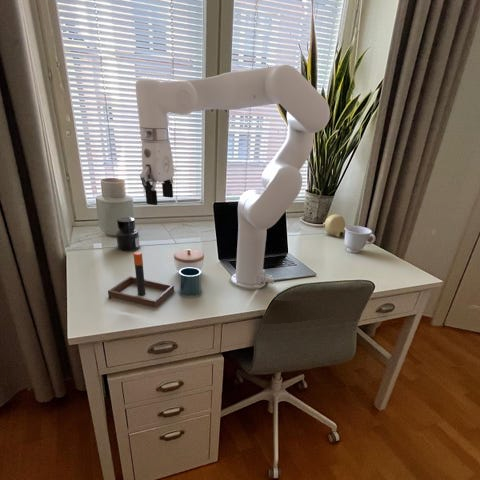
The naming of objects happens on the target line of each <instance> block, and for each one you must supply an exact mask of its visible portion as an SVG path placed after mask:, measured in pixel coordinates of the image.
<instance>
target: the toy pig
mask: <svg viewBox="0 0 480 480" xmlns="http://www.w3.org/2000/svg"><path fill="white" fill-rule="evenodd" d="M322 225H323V227H324V230H325V235H329V236H334V237H336V238H342V237H343V236H345V229H344V228H345V227H346V221H345V218H344V217H343V216H342V215H341V214H338V213H334V214H331V215H329V216H328V217H326V219H325V221H324V222H323V224H322Z"/></svg>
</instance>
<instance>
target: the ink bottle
mask: <svg viewBox="0 0 480 480" xmlns="http://www.w3.org/2000/svg"><path fill="white" fill-rule="evenodd" d="M116 222H117V223H116V224H117V229H118V230H117V231H116V233H115V235H116V243H117V248H118V249H119V250H120V251H123V252H131V251H136V250H139V249H140V248H141V246H140V234H139V231H138V230H137V229H136V221H135V218H134V217H131V216H122V217H118V218H116Z"/></svg>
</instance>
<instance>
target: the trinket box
mask: <svg viewBox="0 0 480 480" xmlns="http://www.w3.org/2000/svg"><path fill="white" fill-rule="evenodd" d="M204 258H205V254H204V252H203V251H201V250H199V249H194V248H183V249H179V250H175V252H174V253H173V259H174V267H175V269H176V271H177V272H178V273H179V270H181V269H183V268H187V267H193V268H197V269H199V270H200V271H201V272H202V269H203V267H204V260H205V259H204Z"/></svg>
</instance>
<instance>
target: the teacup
mask: <svg viewBox="0 0 480 480" xmlns="http://www.w3.org/2000/svg"><path fill="white" fill-rule="evenodd" d="M344 229H345V234H344V246H345V247H346V251H347V252H349V253H353V254H357V253H358V254H359V253H360V250H363V249H364V248H365V246H366V245H372V244H374V243H375V241H376V234H374V233H373V230H371V229H370V228H369V227H365V226H361V225H355V224H354V225H345V228H344ZM370 238H372V240H370V241H368V239H370Z"/></svg>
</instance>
